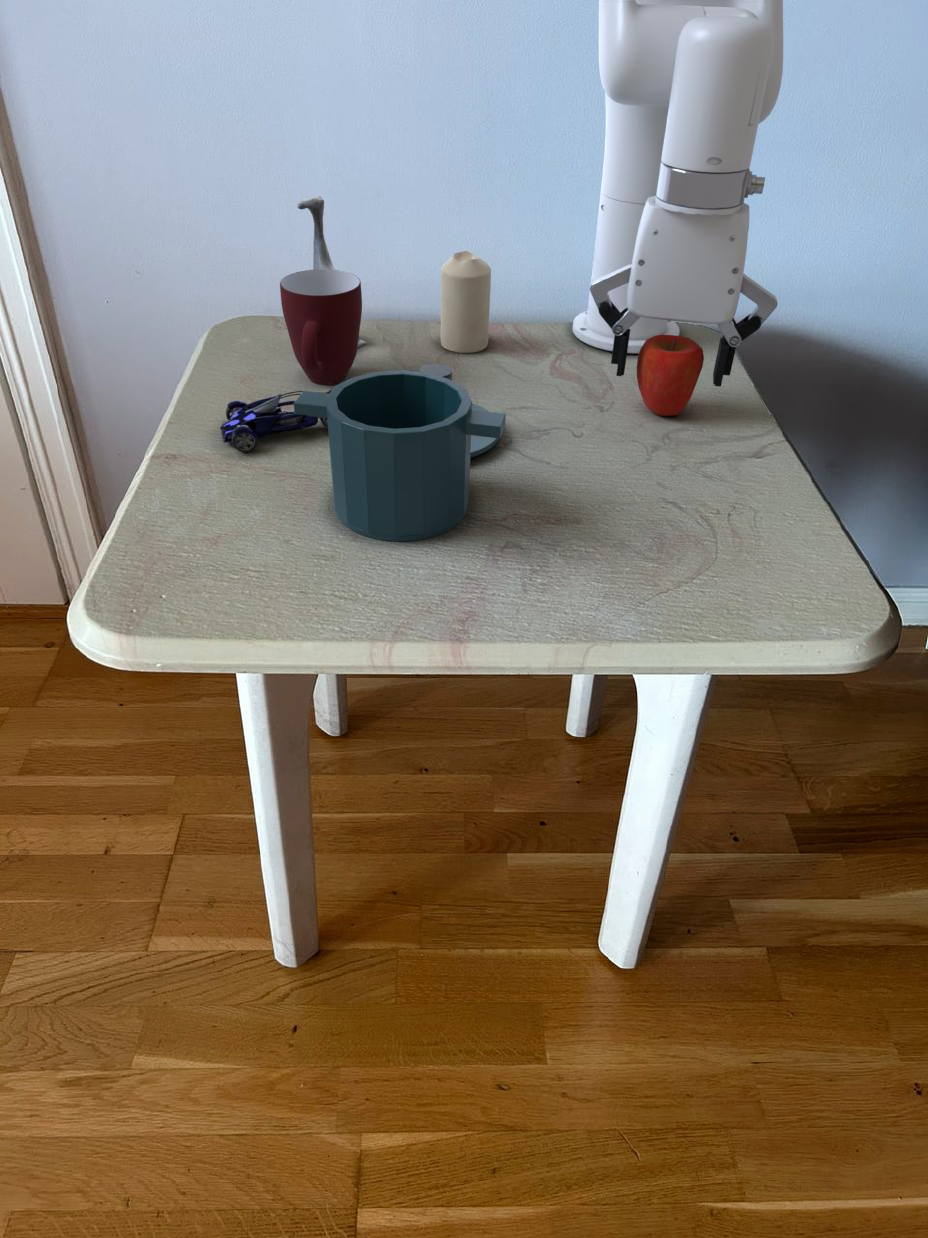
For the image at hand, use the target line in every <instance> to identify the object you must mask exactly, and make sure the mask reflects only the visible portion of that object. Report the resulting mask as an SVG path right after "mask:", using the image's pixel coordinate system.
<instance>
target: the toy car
mask: <svg viewBox="0 0 928 1238" xmlns="http://www.w3.org/2000/svg"><path fill="white" fill-rule="evenodd" d="M303 391H304V390H296V391H290V392H285V393H281V392H280V393H278V394H277V395H274V396H270V397H266V398H263V399H262V398H261V399H259V400H256V401H252V402H250V403H247V402H246V401H245V400H242V399H234V400H231V401H229V402H228V403H227V404H226V409H225V416H226V420H224V421H222V423H221V426H219V430H220V432H221V438H222V442H223V443H232V446H233V447H234V449H235V450H236V451H237V452H241V453H249V452H252V451H253V450H255V448H256V447H257V446H258V441H259V440H258V439H262V438H265V437H268V436H273V435H278V434H285V433H288V432H295V431H301V430H304V429H308V428H311V427H315V426H317V424H318V423H319V421H320V423H321V424H322V425H323V426H324V427H326V428H327V429H328V422H327V418H323V417H315V416H306V415H298V414H295V412H294V411H287V410H283V411H282V407H285V406H294V402H295V401H296V400H295V399H294V400H286V401H281V402H280V400H281V399H284V398H288V397H293V396H300V395H301V393H302V392H303ZM331 391H332V389H329V390H328V391H326V392H325V393H328V394H329V393H330V392H331ZM318 392H319V391H318ZM319 393H322V391H321V392H319Z"/></svg>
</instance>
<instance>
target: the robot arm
mask: <svg viewBox="0 0 928 1238" xmlns="http://www.w3.org/2000/svg"><path fill="white" fill-rule="evenodd" d="M598 68H599V77H600V82H601V86H602V89H603V91H604V93H605V96H604V98H605V99H604V101H605V137H604V138H605V139H604V154H603V164H602V173H601V174H602V175H601V185H600V196H599V203H598V213H597V222H596V230H595V231H596V232H595V239H594V240H595V241H594V248H593V249H594V250H593V257H592V266H591V278H590V286H589V293H588V301H587V310H585V311H582V312H580V313H579V314H578V315H576V316H575V317H574V319H573V321H572V329H571V330H572V333H573V335H574V336H575V337H576V338H577V339H578V340H579V341H581V342H582V343H584V344H586V345H588V346H591V347H593V348H596V349H599V350H604V351H609V352H611V359H610V360H611V361H610V364H612V365H617V366H616V367H617V368H616V375H615V376H616V377H622V376H624V375H625V370H626V364H627V357H628V354H639V352H640V349H641V347H642V346H643V344H644V343H645V341H646V340H647V339H649V338H651V337H653V336H657V335H675V336H680V333H681V332H680V330H681V329H680V327H679V325H678V324H677V322H679V323H680V322H681V323H683V322H684V323H692V324H705V325H717V326H718V328H719V330H720V331H721V333H722V337H720V338H719V343H718V348H717V353H716V357H715V361H714V362H715V363H714V368H713V373H712V384H713V385H714V386H715V387H722V384H723V379H724V376H728V377H730V376H731V373H732V369H733V368H732V367H733V364H734V359H735V354H736V350H737V347H739V346H740V345H741V344H742V342H743V341H744V340H746V339H747V338H749V337H750V336H751V335H753V334H754V333H756V332H757V331H758V330H760V329H761V327H762V324H763V323H764V322H766V320H768V318H769V317H770V316H771V315H772V313H774V311H775V310H776V308H777V307H778V299H777V296H776V295H774V294H773V293H772V292H771V291H769V290H768V289H766V288H765V287H763V286H762V285H760V284H759V283H758V282H756V281H755V280H753V279H752V278H751V277H749V276H748V275H747V274H745V273H744V272H745V265H746V258H747V250H748V240H749V239H748V238H749V231H750V205H749V204H747V203H746V202H745V199H748V197H749V196H753V195H754V194H755V195H762V194H763V192H764V187H765V182H766V177H765V176H757V174H753V171H752V170H750V167H751V163H752V157H753V154H754V148H755V143H756V139H757V132H758V129H759V124H761V123H762V122H764V121H765V120H766V119H767V118H768V117H769V116H770V114H771V113H772V111H773V109H774V108H775V106H776V105H777V101H778V98H779V95H780V91H781V86H782V81H783V80H782V79H783V73H784V72H783V71H784V0H598ZM741 294H742V295H743V296H745V297H746V298H748V299H749V300H750V301H752V302H753V303H754V304H755V305H756V306H755V308H754V309H753V311H752V312H751V313H749V314H748V315H747V316H745V317H743V318H742V319H741V320H739V321H738V322H737V320H736V318H735V315H736V313H737V309H738V305H739V301H740V295H741Z"/></svg>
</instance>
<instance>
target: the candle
mask: <svg viewBox="0 0 928 1238" xmlns="http://www.w3.org/2000/svg"><path fill="white" fill-rule="evenodd" d="M491 285H492V268H491V267H490V266H489V264H488V263H487V262H486V261H485V260H483V259H482V258H480V256H478V255H477V254H474V253H472V252H470V251H468V250H464V251H459V252H454V254H453V255H452V256H451V257H449V259H448V260H446V262H445V263H443V265H442V266H441V267H440V345H441V347H443V348H444V349H445V350H447V351H451V352H453V353H461V354H462V353H463V354H471V353H477V352H480V351H483V350H484V349H486V348H487V347H488V345H489V336H490V335H489V332H490V331H489V330H490V309H491V306H490V305H491V287H492V286H491Z"/></svg>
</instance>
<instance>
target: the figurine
mask: <svg viewBox="0 0 928 1238" xmlns="http://www.w3.org/2000/svg"><path fill="white" fill-rule="evenodd" d="M296 207H297V209H299V210H305V209H308V211H309V212H310V214H311V216H312V219H313V254H312V255H313V256H312V258H313V259H312V260H313V263H312V264H313V265H312V268H313V269H312V270H318V269H326V270H336V269H335V267H334V265H333V262H332V257H331V256H330V252H329V249H328V245H327V243H326V239H325V235H324V211H325V200H324V199H323V198H322V196H317V197H311V198H310V199H307V200H300V201H298V202H297V206H296ZM365 344H366V341H364V340H362V339H360V338H359V339H358V347H357V349H358V348H360V347H362V346H364V345H365Z"/></svg>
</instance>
